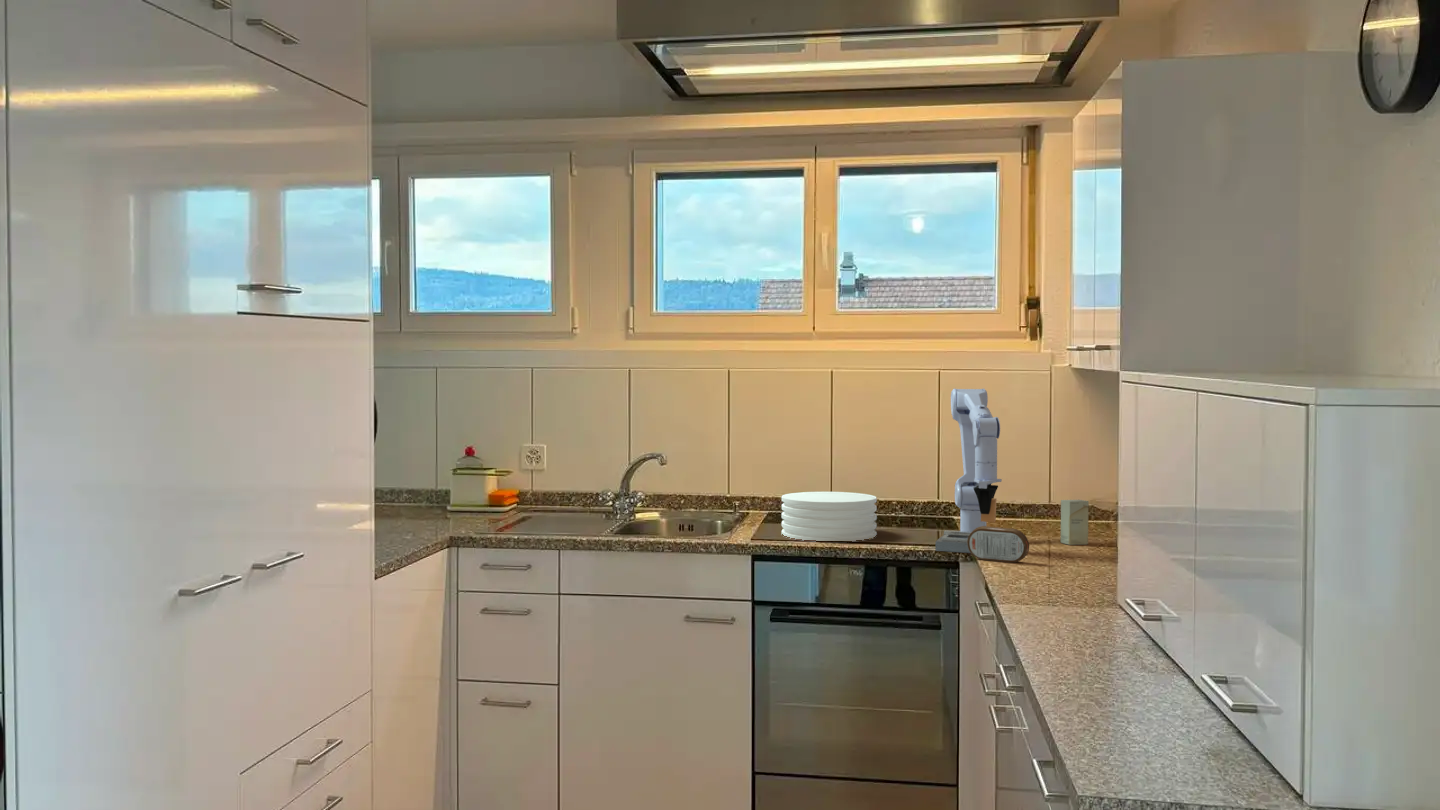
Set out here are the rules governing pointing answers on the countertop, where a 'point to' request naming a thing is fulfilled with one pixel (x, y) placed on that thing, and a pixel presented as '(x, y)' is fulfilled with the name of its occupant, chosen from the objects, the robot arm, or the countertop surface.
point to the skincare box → (1074, 522)
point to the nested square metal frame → (953, 542)
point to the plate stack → (829, 516)
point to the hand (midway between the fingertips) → (985, 512)
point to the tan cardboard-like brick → (990, 513)
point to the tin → (998, 544)
